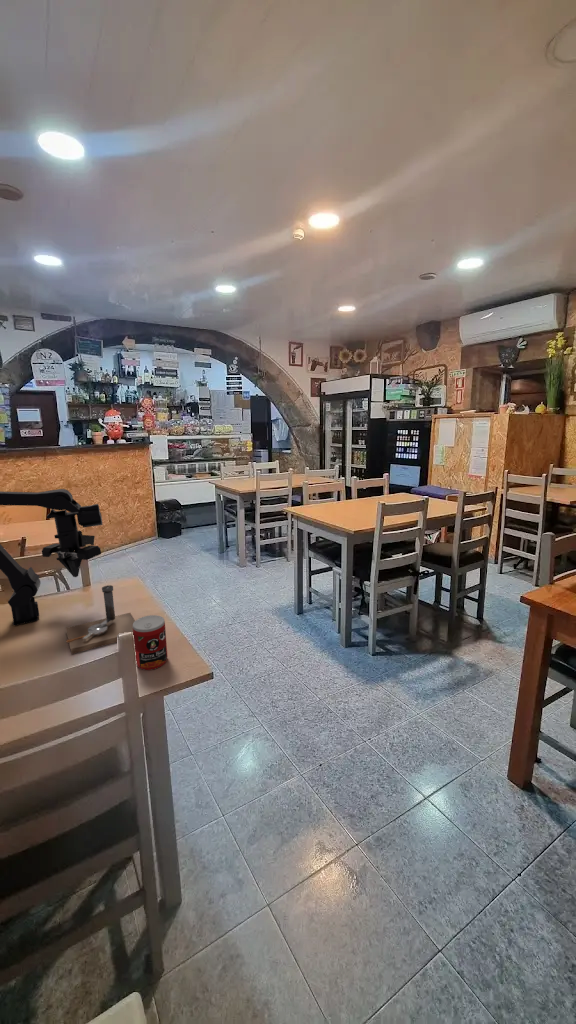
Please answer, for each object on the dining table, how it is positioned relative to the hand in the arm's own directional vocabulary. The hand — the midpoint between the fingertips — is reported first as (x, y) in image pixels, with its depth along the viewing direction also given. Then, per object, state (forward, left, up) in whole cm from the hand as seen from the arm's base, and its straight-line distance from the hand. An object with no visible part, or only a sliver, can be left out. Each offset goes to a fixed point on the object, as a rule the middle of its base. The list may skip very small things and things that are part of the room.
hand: (75, 576), depth 133 cm
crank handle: (+3, -22, -10) cm, 24 cm away
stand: (+4, -21, -12) cm, 24 cm away
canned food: (+12, -43, -12) cm, 46 cm away
